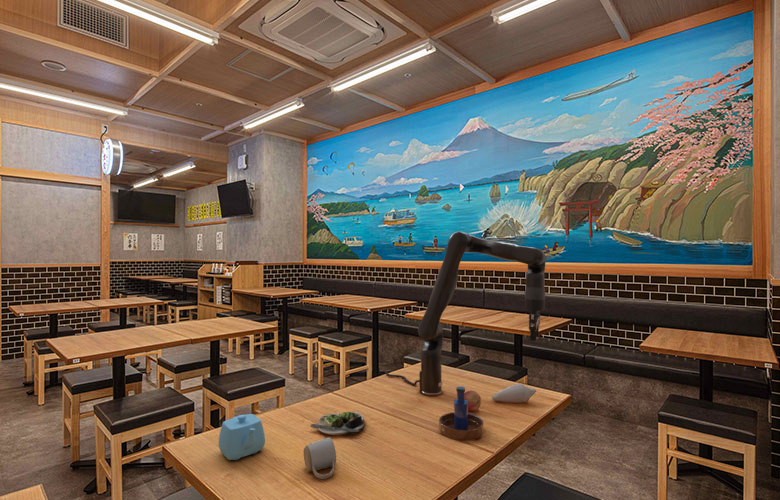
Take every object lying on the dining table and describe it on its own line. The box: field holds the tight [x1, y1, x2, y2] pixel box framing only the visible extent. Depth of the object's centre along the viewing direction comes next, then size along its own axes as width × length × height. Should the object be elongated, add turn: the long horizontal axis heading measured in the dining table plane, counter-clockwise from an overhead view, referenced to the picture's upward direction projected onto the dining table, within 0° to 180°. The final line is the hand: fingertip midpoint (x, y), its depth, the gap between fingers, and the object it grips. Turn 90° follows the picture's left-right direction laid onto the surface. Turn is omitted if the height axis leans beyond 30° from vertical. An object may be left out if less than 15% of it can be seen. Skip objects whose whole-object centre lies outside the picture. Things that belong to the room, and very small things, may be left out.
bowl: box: [438, 411, 485, 442], centre depth 133 cm, size 15×15×4 cm
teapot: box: [218, 413, 266, 461], centre depth 120 cm, size 12×18×12 cm
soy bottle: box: [453, 386, 469, 430], centre depth 133 cm, size 5×5×15 cm
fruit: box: [464, 390, 482, 413], centre depth 151 cm, size 8×8×8 cm
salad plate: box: [309, 411, 365, 436], centre depth 138 cm, size 19×18×5 cm
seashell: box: [491, 383, 537, 404], centre depth 160 cm, size 9×11×15 cm
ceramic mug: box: [303, 436, 337, 480], centre depth 110 cm, size 11×8×8 cm
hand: (534, 338), depth 152 cm, fingers open, 8 cm apart
